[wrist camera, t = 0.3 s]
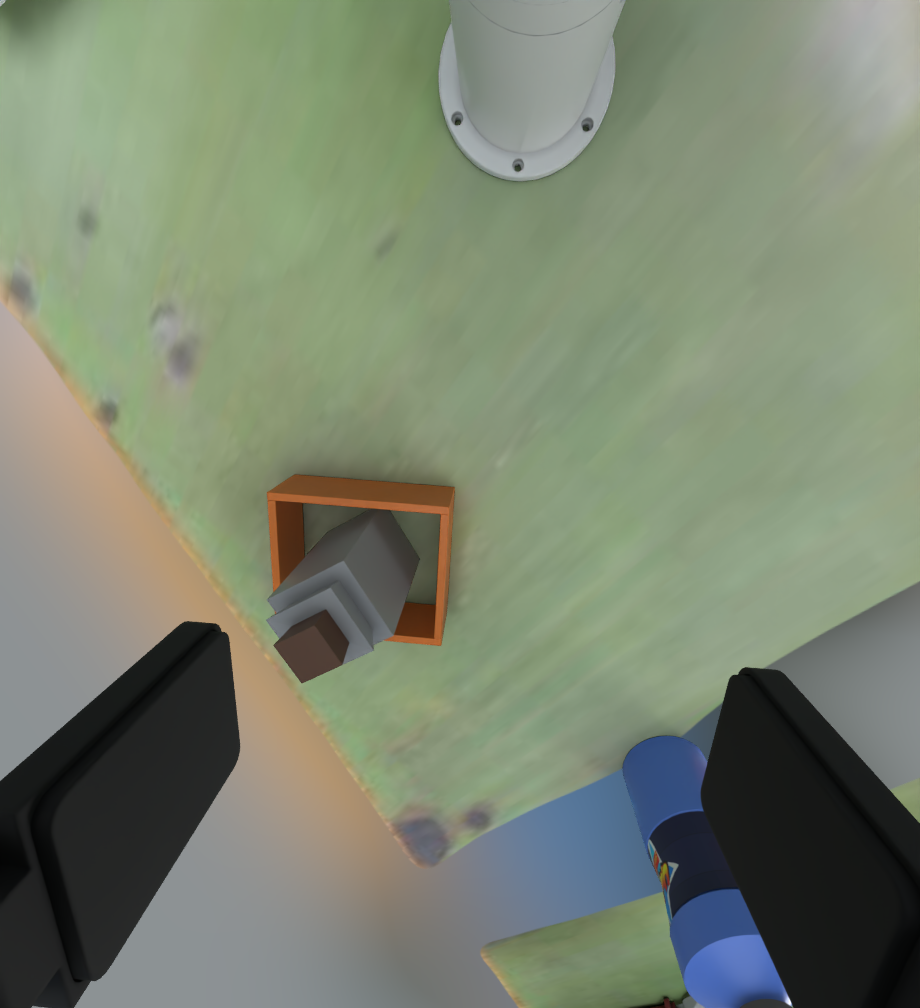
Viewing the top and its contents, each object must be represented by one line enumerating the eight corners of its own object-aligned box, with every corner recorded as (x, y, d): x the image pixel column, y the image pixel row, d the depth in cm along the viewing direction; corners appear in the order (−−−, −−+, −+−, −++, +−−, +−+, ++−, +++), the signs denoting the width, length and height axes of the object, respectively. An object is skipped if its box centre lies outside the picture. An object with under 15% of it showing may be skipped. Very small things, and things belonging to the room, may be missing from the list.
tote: (294, 474, 47) (266, 492, 41) (455, 487, 46) (449, 507, 40) (300, 598, 51) (275, 630, 45) (447, 611, 50) (441, 646, 44)
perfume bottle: (363, 586, 50) (295, 712, 33) (327, 532, 48) (235, 634, 31) (419, 559, 48) (379, 675, 31) (384, 501, 47) (321, 591, 30)
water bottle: (702, 728, 52) (875, 1045, 29) (711, 794, 55) (876, 1133, 31) (615, 741, 54) (711, 1055, 30) (627, 805, 56) (726, 1139, 33)
